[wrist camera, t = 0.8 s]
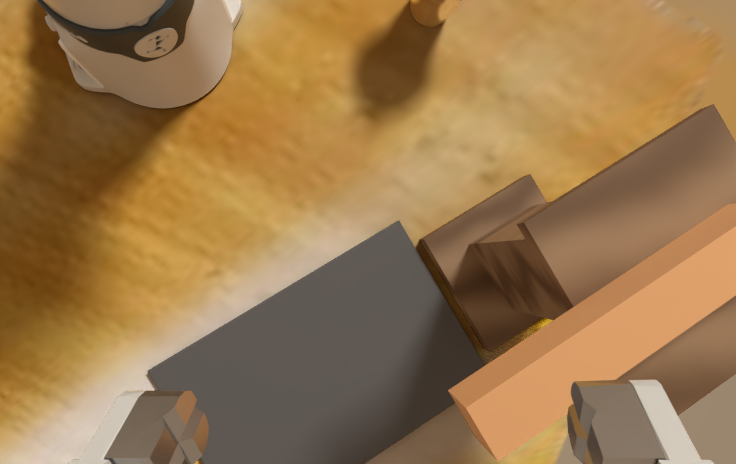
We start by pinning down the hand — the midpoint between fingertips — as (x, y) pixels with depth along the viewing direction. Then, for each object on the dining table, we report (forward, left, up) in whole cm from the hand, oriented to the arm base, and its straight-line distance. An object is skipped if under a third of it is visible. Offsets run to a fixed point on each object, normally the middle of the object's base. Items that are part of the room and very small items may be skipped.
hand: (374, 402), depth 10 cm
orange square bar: (+8, +13, -15) cm, 21 cm away
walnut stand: (+8, +19, -41) cm, 46 cm away
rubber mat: (+8, -4, -41) cm, 42 cm away
